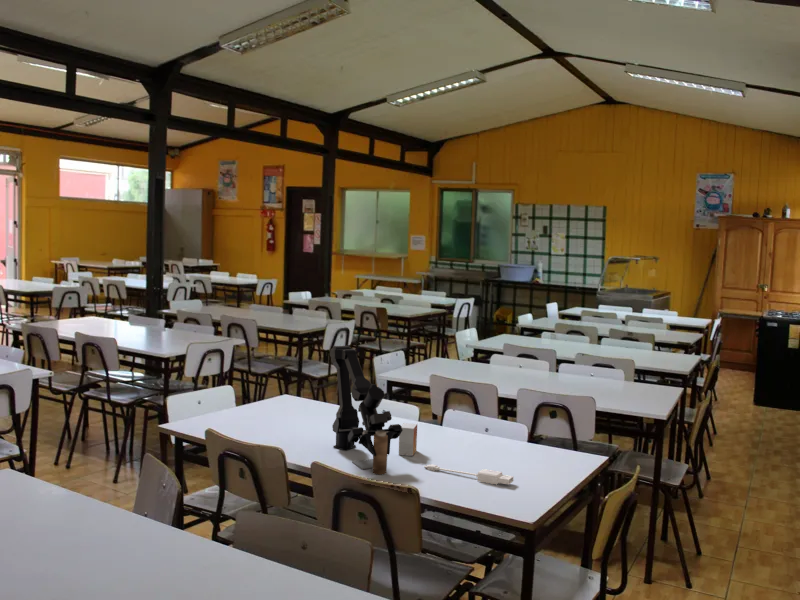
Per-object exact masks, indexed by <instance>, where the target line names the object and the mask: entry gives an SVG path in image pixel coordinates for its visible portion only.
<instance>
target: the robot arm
mask: <svg viewBox="0 0 800 600" xmlns="http://www.w3.org/2000/svg"><path fill="white" fill-rule="evenodd" d="M329 356H330V359H331V363H332V365H333V366H334V367H335V369H336V375H337V376H336V378H337V388H338V391H337V392H338V400H339V407H338V408H337V412H336V414H335V419H334V421H333V424H331V425H332V431H333V432H334V433H335V445H333V448H335V449H340V450H344V451H348V450H351V449H354V448H356V446H357V445H356V444H355V443H358V445H361V446H363V447H364V448H365V449H366V450H367V451H368V452H369V453H370V454H371V455H372V457H373V456H375V455H376V453H375V449H374V446H373V445H374V442H373V441H372V437H374V434H376V431H385V432H386V435H388V444H387V456H389V455H390V452H391V450H390V449H391V448H390V447H391V440H394V439H399V435H400V434H401V432H402V427H401V426H402V424H399V423H397V424H390V425H389V426H388V428H385V429H384V427H385V423H387V424H388V422H389V421H391V420H392V414H391V411H390V410H386V411H384V412H382V413H378V411H377V408H379V406H380V404H381V402H382V401H383V400H384V398H385V391H384V390H383V389H382V388H381V387H379V386H377V384H374V383H371V381H370V380H368V379H367V378H366V376H365V375H364V371H363V370H362V366H361V364H360V360H359V357H358V351H357V349H355V348H351V346H350V345H334V346H332V348H330V350H329ZM351 382H352V387H351ZM352 399H353V400H354V401H355V402H360V404H359V405H358V409H357V408H355V407H354V406H353V401H352ZM358 412H359V413H360V415H361V418H362V423H361V424H362V426H364V428H363V427H361V426H360V427H359V425H360V418H359V415H358Z"/></svg>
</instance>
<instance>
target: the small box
mask: <svg viewBox="0 0 800 600" xmlns="http://www.w3.org/2000/svg"><path fill="white" fill-rule="evenodd" d="M401 427H402V432H401V434H400V435H399V437H398V456H408V457H409V456H411V457H413V456H414V455H415V453H416V452H417V447H418V446H417V443H418V423H408V422H404V423H402V424H401Z"/></svg>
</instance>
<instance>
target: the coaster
mask: <svg viewBox="0 0 800 600" xmlns="http://www.w3.org/2000/svg"><path fill="white" fill-rule="evenodd" d="M351 462H352V464H353V465H355V466H357V468H359V469H360V470H362V469H363V470H370V469H371V470H373V458H371V459H362V460H353V461H351Z"/></svg>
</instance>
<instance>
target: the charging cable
mask: <svg viewBox="0 0 800 600" xmlns="http://www.w3.org/2000/svg"><path fill="white" fill-rule="evenodd" d="M423 468H425V469H427V471H433V472H436V471H445V472H450V473H456V474H461V475H462V474H463V475H469V476H476V478H477V482H478V481H481V482H480V483H483V482H486V483H485V484H488V483H491V484H490V485H493V484H496V485H495V486H498V485H499V484H504V485H510V484H511V483H513V482H514V476H513V475H506V474H503V472H502V471H497V470H490V469H485V468H484V469H483V468H482V469H481V470H480V471H478V472H477V473H473V472H467V471H461V470H455V469H454V470H453V469H449V468H443V467H440V466H438V464H432V463H430V464H428V465H425V466H423ZM498 483H499V484H498ZM497 484H498V485H497Z"/></svg>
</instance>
